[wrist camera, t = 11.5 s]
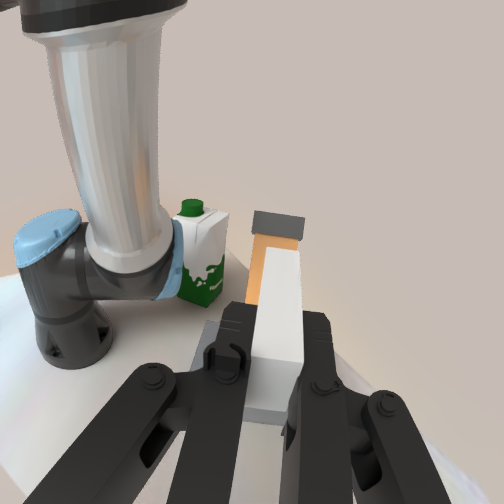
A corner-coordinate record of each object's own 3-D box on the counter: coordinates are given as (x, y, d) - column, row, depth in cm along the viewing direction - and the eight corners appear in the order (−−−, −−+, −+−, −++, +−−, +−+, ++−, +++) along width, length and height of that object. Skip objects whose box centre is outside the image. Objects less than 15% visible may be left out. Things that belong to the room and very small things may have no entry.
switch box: (309, 427, 38) (325, 399, 34) (186, 410, 39) (183, 379, 35) (308, 359, 50) (319, 327, 47) (206, 345, 51) (206, 310, 47)
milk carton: (192, 277, 69) (194, 193, 59) (228, 289, 66) (235, 202, 57) (171, 297, 62) (168, 206, 52) (209, 312, 59) (212, 218, 49)
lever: (283, 360, 40) (305, 217, 41) (233, 353, 41) (254, 210, 42) (282, 355, 43) (302, 220, 44) (235, 348, 43) (255, 213, 44)
